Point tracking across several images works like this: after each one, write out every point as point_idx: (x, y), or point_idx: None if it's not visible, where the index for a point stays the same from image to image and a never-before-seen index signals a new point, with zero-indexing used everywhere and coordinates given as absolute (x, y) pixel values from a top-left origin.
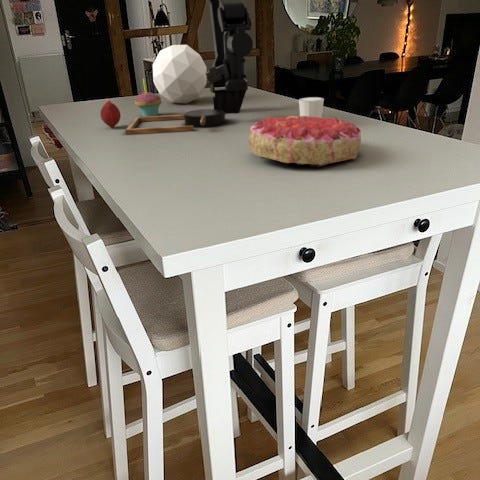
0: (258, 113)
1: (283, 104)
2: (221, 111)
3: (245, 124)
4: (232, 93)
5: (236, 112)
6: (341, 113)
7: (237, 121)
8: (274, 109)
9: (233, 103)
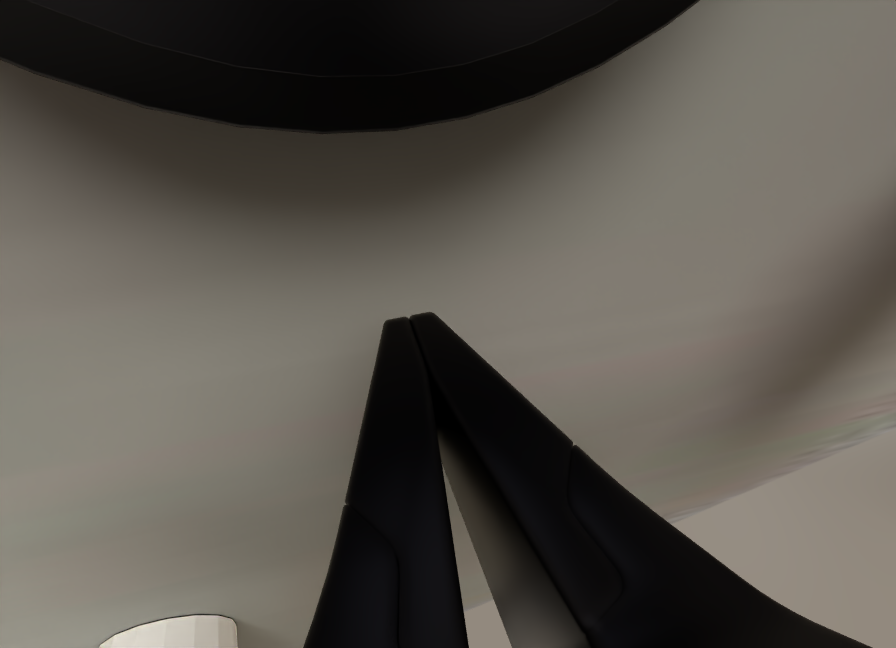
0: (715, 352)
1: (862, 409)
2: (374, 42)
3: (175, 363)
4: None
5: (384, 336)
6: (477, 601)
7: (395, 244)
8: (767, 405)
9: (354, 470)
